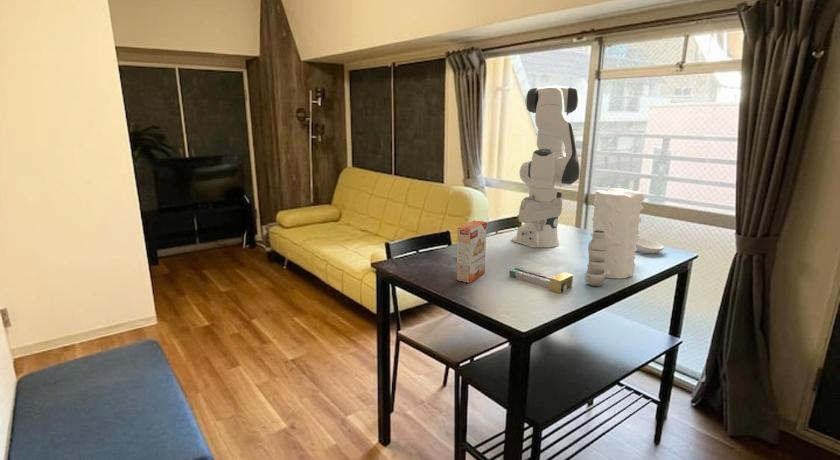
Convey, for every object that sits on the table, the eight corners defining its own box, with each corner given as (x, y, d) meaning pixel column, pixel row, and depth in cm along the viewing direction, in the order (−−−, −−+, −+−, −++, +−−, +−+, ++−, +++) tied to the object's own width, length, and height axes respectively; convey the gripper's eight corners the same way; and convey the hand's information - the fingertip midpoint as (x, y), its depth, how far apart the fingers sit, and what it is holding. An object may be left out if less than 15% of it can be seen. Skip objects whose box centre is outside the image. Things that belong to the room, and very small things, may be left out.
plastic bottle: (581, 282, 169) (585, 229, 163) (599, 281, 169) (603, 228, 164) (589, 288, 162) (593, 234, 157) (607, 287, 163) (612, 233, 158)
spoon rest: (667, 252, 202) (669, 236, 200) (657, 258, 194) (659, 242, 192) (614, 242, 219) (615, 227, 217) (603, 247, 211) (604, 232, 209)
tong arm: (553, 283, 167) (553, 276, 167) (550, 285, 166) (550, 278, 165) (517, 272, 179) (517, 266, 178) (513, 274, 177) (514, 267, 177)
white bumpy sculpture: (578, 268, 183) (584, 189, 175) (609, 262, 189) (616, 186, 181) (611, 282, 168) (619, 196, 160) (643, 275, 174) (653, 192, 166)
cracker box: (470, 284, 168) (471, 229, 163) (456, 281, 171) (456, 227, 166) (486, 272, 180) (487, 221, 174) (472, 270, 183) (473, 219, 178)
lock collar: (572, 287, 164) (572, 274, 163) (559, 293, 158) (560, 281, 157) (561, 284, 167) (562, 272, 165) (549, 290, 161) (550, 278, 160)
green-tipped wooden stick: (568, 290, 161) (569, 282, 161) (563, 292, 159) (563, 285, 158) (514, 274, 178) (514, 267, 177) (509, 276, 175) (509, 269, 175)
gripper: (528, 199, 159) (527, 237, 163) (566, 192, 171) (563, 228, 174) (515, 196, 164) (513, 233, 168) (552, 190, 176) (550, 225, 179)
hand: (539, 231), depth 171 cm, fingers closed
